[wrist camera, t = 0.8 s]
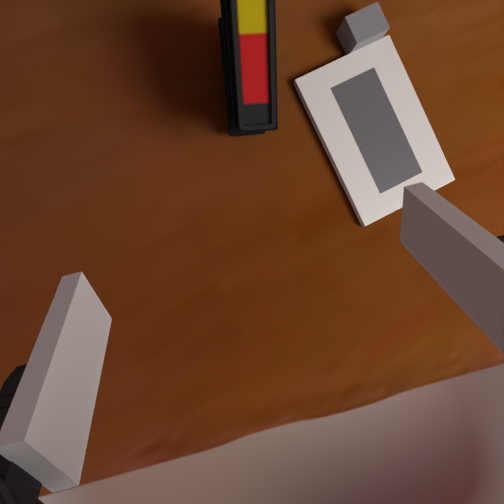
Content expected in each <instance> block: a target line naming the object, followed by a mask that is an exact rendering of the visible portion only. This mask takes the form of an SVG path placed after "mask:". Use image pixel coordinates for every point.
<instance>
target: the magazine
mask: <svg viewBox="0 0 504 504" xmlns="http://www.w3.org/2000/svg"><path fill="white" fill-rule="evenodd" d="M220 5H221V16H222V18H219V19H218V25H219V35H220V45H221V55H222V65H223V75H224V85H225V95H226V105H227V115H228V124H229V134H230V136H243V135H256V134H264V132H265V131H268V130H277V129H278V121H277V71H276V21H275V0H220Z"/></svg>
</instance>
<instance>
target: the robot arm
mask: <svg viewBox="0 0 504 504" xmlns="http://www.w3.org/2000/svg"><path fill="white" fill-rule="evenodd" d="M400 242H401V243H402V244H403V246H404V247H405V248H406V249H407V250H408V251H409V252H410V253H411V254H412V255H413V256H414V258H415V259H416V260H417V261H418V262H419V263H420V264H421V265H422V266H423V267H424V268H425V270H426V271H427V272H428V273H429V274H430V275H431V276H432V277H433V278H434V279H435V280H436V282H437V283H438V284H439V285H440V286H441V287H442V288H443V289H444V290H445V291H446V292H447V294H448V295H449V296H450V297H451V298H452V299H453V300H454V301H455V302H456V303H457V304H458V306H459V307H460V308H461V309H462V310H463V311H464V312H465V313H466V314H467V315H468V316H469V318H470V319H471V320H472V321H473V322H474V323H475V324H476V325H477V326H478V327H479V328H480V330H481V331H482V332H483V333H484V334H485V335H486V336H487V337H488V338H489V339H490V340H491V342H492V343H493V344H494V345H495V346H496V347H497V348H498V349H499V350H500V351H501V352H502V354H503V355H504V235H502V236H498V237H495V236H494V235H492V234H491V233H490V232H488V231H487V230H486V229H484V228H483V227H482V226H480V225H479V224H478V223H476V222H475V221H474V220H472V219H471V218H470V217H468V216H467V215H466V214H464V213H463V212H462V211H460V210H459V209H458V208H456V207H455V206H454V205H452V204H451V203H450V202H448V201H447V200H446V199H444V198H443V197H442V196H440V195H439V194H438V193H436V192H435V191H434V190H432V189H431V188H430V187H428V186H427V185H426V184H424V183H423V182H420V183H416V184H412V185H408V186H405V187H404V192H403V207H402V222H401V237H400ZM111 320H112V319H111V317H110V315H109V314H108V312H107V311H106V309H105V308H104V306H103V304H102V303H101V301H100V300H99V298H98V296H97V295H96V293H95V292H94V290H93V289H92V287H91V285H90V284H89V282H88V281H87V279H86V278H85V276H84V274H83V273H82V272H78V273H74V274H70V275H66V276H63V277H62V279H61V281H60V284H59V286H58V289H57V291H56V294H55V296H54V299H53V301H52V304H51V306H50V309H49V311H48V314H47V316H46V319H45V321H44V324H43V326H42V328H41V331H40V333H39V336H38V338H37V341H36V343H35V346H34V348H33V351H32V353H31V356H30V358H29V361H28V363H27V364H25V365H21V366H18V367H16V368H15V369H14V371H13V372H12V373H11V374H10V376H9V377H8V378H7V379H6V381H5V382H4V384H3V386H2V388H1V391H0V504H44V503H42V502H41V501H40V500H39V499H38V496H39V493H40V489H41V485H43V486H44V487H46V488H47V489H48V490H50V491H51V492H52V493H53V492H57V491H61V490H64V489H68V488H71V487H75V486H79V482H80V477H81V472H82V467H83V462H84V457H85V452H86V447H87V442H88V436H89V431H90V426H91V421H92V416H93V411H94V406H95V401H96V396H97V391H98V386H99V381H100V376H101V371H102V365H103V360H104V355H105V350H106V345H107V340H108V335H109V330H110V325H111Z"/></svg>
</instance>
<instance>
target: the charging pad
mask: <svg viewBox="0 0 504 504" xmlns="http://www.w3.org/2000/svg"><path fill="white" fill-rule="evenodd" d="M389 28H390V27H389V25H388V23H387V21H386V18H385V16H384V14H383V12H382V10H381V7H380V5H379V3H378V2H376V3H374V4H372V5H369V6H367V7H365V8H363V9H361V10H359V11H357V12H354V13H352V14H350V15H348V16H346V17H345V18H344V20H343V21H342V23H341V25H340V27H339V29H338V30H337V32H336V35H337V37H338V39H339V41H340V44H341V46H342V48H343V50H344V52H345V54H346V56H344V57H342V58H339V59H337V60H335V61H333V62H331V63H329V64H327V65H325V66H323V67H320V68H318V69H316V70H314V71H312V72H310V73H308V74H306V75H304V76H302V77H299V78H297V79H295V81H294V83H293V84H294V86H295V89H296V91H297V93H298V95H299V97H300V99H301V101H302V103H303V105H304V107H305V109H306V111H307V114H308V116H309V118H310V120H311V122H312V124H313V126H314V128H315V130H316V132H317V134H318V137H319V139H320V141H321V143H322V145H323V147H324V149H325V151H326V153H327V155H328V157H329V159H330V162H331V164H332V166H333V168H334V170H335V172H336V174H337V176H338V178H339V180H340V182H341V185H342V187H343V189H344V191H345V193H346V195H347V197H348V199H349V201H350V203H351V205H352V207H353V210H354V212H355V214H356V216H357V218H358V220H359V222H360V224H361V226H362V227H363V226H367V225H369V224H371V223H372V222H374V221H376V220H378V219H380V218H382V217H384V216H386V215H388V214H390V213H392V212H394V211H396V210H398V209H400V208H401V207H403V192H404V187H405V186H408V185H412V184H416V183H420V182H423V183H424V184H426V185H427V186H428V187H430V188H431V189H432V190H436V189H438V188H440V187H442V186H444V185H446V184H448V183H450V182H452V181H454V180H455V178H454V176H453V174H452V172H451V169H450V167H449V165H448V163H447V161H446V159H445V156H444V154H443V152H442V150H441V148H440V145H439V143H438V141H437V139H436V137H435V134H434V132H433V130H432V128H431V126H430V123H429V121H428V119H427V117H426V115H425V112H424V110H423V108H422V106H421V104H420V102H419V99H418V97H417V95H416V93H415V91H414V88H413V86H412V84H411V82H410V80H409V77H408V75H407V73H406V71H405V69H404V66H403V64H402V62H401V60H400V58H399V55H398V53H397V51H396V49H395V47H394V45H393V42H392V40H391V38H390V36H389V35H388V36H386V37H384V38H382V37H383V36H384V35H385V33H386V32H387V31H388V30H389Z"/></svg>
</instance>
